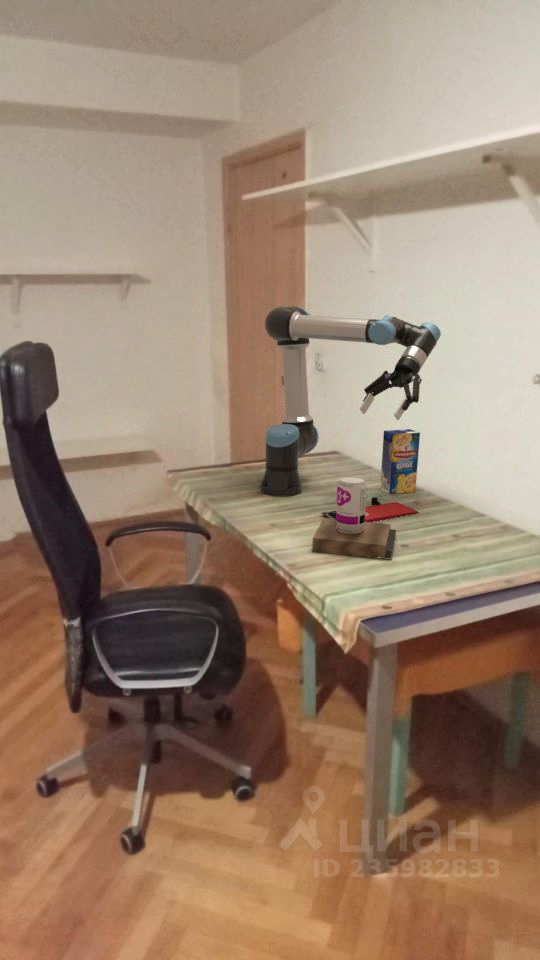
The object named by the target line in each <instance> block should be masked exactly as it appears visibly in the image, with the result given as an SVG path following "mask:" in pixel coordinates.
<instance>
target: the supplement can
mask: <svg viewBox="0 0 540 960" xmlns="http://www.w3.org/2000/svg"><path fill="white" fill-rule="evenodd" d="M367 488H368V487H367V483H366V479H364V478H363V477H359V476H343V477H340V478H339V481H338V482H337V485H336V503H335V504H336V507H335V508H336V509H335V511H336V525H335V528H336V529H337V530H338V531H339V532H340V533H344V534H359V533H361V532H362V531H363V530H364V525H365V508H366V507H367V505H366V503H367V491H368V490H367Z"/></svg>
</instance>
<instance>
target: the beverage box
mask: <svg viewBox="0 0 540 960" xmlns="http://www.w3.org/2000/svg"><path fill="white" fill-rule="evenodd" d="M420 439H421V432H420V431H417V430H413V429H410V428H407V429H393V430H392V429H388V430H383V440H382V453H381V455H382V457H381V472H380V484H379V485H380V488H379V490H380V491H383V492H385V493H386V494H389V495H397V494H404V492H407V493H413V492H414V491H415V492H416V491H417V490H416V489H417V487H416V486H417V475H418V465H419V464H418V463H419V452H420V451H419V450H420ZM396 493H397V494H396Z"/></svg>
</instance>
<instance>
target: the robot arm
mask: <svg viewBox="0 0 540 960" xmlns="http://www.w3.org/2000/svg"><path fill="white" fill-rule="evenodd" d="M397 317H398V316H397ZM397 317H396V316H392V315H390V314H389V315H388V314H387V315H384V316H383V317H382V319H373V318H360V317H359V318H357V317H356V318H355V317H341V316H340V317H339V316H328V315H327V316H325V315H312V314H310V313H309V312H308V310H307V309H305V308H303V307H300V306H279V307H278V306H277V307H275V308H272V310H270V311H269V312H268V314H267V315H266V316H265V320H264V328H265V332H266V334H267V335H268V336H269V337H270V338H271V339H273V340H275V341H276V342H277V347H278V348H279V349H280V350H281V356H282V374H283V388H284V406H285V407H284V408H285V416H284V417H283V418H282V421H281V424H275V425H272V426H270V427H269V428H268V429H267V430H266V436H265V471H264V474H263V476H262V479H261V482H260V492H261V493H262V494H266V495H269V496H275V497H289V496H295V495H299V494H301V493H302V492H303V484H302V480H301V477H300V476H301V475H300V472H299V457H301V456H304V455H306V454H307V455H308V454H309V453H310V452H311V451H312V450H314V449H315V448H316V446H317V445H318V442H319V440H320V439H319V437H320V436H319V431H318V429H317V427H316V426H315V425H314V417H312V416H311V415H310V411H309V409H310V408H309V396H308V395H309V393H308V376H307V375H308V374H307V372H308V370H307V356H306V355H307V353H306V349H307V348H308V347H309V345H310V339H312V340H313V339H315V340H324V341H325V340H326V341H327V340H328V341H341V342H354V343H365V344H366V343H367V344H375V345H378V346H385V345H386V346H387V345H389V344H394V343H395V344H397V345H400V346H403V347H405V348H406V349H405V350H404V352H402V354H401V356H400V358H399V360H398V361H397V362H396V364H395V365H394V370H393V371H392V372H391V373H390V372H388V370H384V371H383V372H382V373H381V375H380V376H379V377H377V378H376V379H375V380H373V382H371V383H370V384H369V385H368V386H366V387H365V388H364V389H363V391H364V393H365V394H366V395H365V397H364V399H363V400H362V401H363V402H362V404H361V406H360V407H359V410H360V411H361V414H363V415H365V414H366V413H367V411H368V409H369V408H370V407H371V405H372V404H373V402H374V400H375V397H376V396H377V395H379V394H381V393H383V392H384V391H387V390H388V389H392V388H400V389H402V388H403V390H404V394H405V397H403V398H402V400H401V402H400V403H399V404H398V407H397V408H396V409H395V411H394V413H393V415H394V417H395V419H396V420H397V421H399V420H400V419H401V418H402V415H403V414H404V412H405V411H407V410H408V409H409V407H410V405H411V404H413V403H415V404H417V403H419V400H420V385H421V383H422V378H421V375H420V374H419V373H420V371H421V369H422V367H423V366H424V365H425V364H426V361H427V359H428V357H429V356H430V355H431V353H432V352H433V350H434V349H435V347H436V346H437V343H438V341H439V339H440V337H441V335H442V334H441V329H440V328H439V327H438V325H436V324H434V323H432V322H430V321H429V322H427V321H425V322H423V323H421V324H420V325H416V324H413V323H410V322H407V321H405V320H402V319H400V318H397ZM411 383H412V393H411V390H410V389H411V388H410V384H411Z"/></svg>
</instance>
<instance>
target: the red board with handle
mask: <svg viewBox="0 0 540 960" xmlns="http://www.w3.org/2000/svg"><path fill="white" fill-rule="evenodd" d="M378 499H379V498H378V497H375V496H374V497H371V503H370V506H366V508H365V522H373V521H376V522H381V521H380V520H382V521H385V520H386V519H387V520H391V518H392V519H396V518H395V517H397V518H401V517H400V516H403V517H406V515H408V516H413V515H417V514H420V512H419V510H415V509H414V508H411V507H409V506H407V505H404V504H401V503H400V502H397V501H395V502H389V503H381V502H380V501H379V500H378ZM321 514H322V515H324V516H326V517H327V518H331V519H336V510H332V511H325V512H321ZM387 520H386V521H387ZM373 523H374V522H373Z"/></svg>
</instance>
